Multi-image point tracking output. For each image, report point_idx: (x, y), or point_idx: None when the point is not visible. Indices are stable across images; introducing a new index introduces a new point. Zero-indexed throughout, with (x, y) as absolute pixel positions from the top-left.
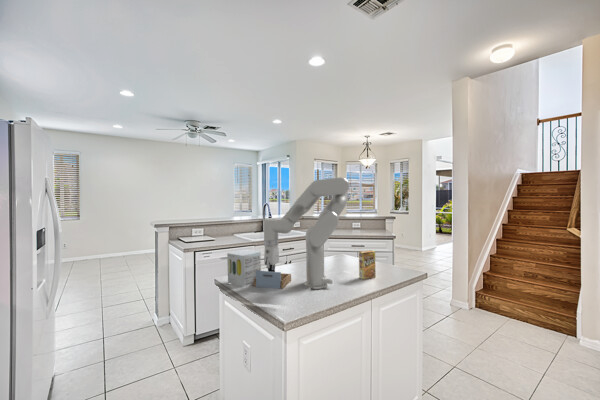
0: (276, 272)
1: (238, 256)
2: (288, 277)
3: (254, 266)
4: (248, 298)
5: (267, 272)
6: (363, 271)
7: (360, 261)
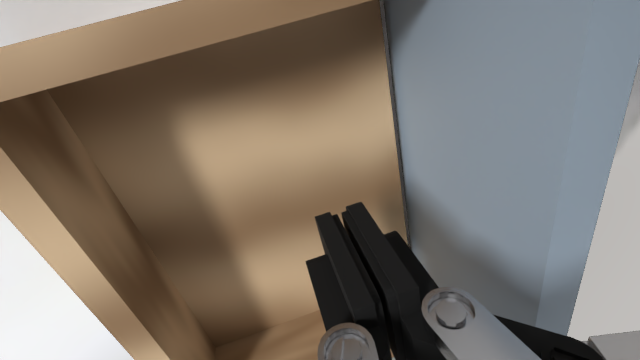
0: (613, 103)
1: None
2: (110, 20)
3: None
4: (619, 142)
5: (575, 269)
6: None
7: None
